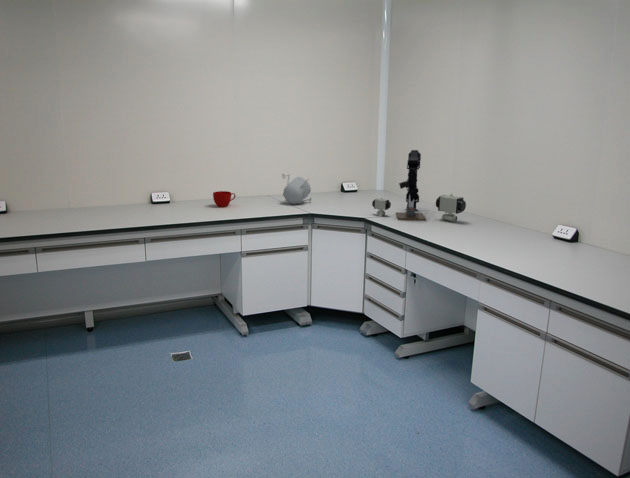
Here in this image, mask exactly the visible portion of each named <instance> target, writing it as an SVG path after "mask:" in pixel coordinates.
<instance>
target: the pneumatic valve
mask: <svg viewBox="0 0 630 478" xmlns="http://www.w3.org/2000/svg"><path fill="white" fill-rule="evenodd" d="M371 205H372V207H373V209H374V210H377V211H376V214H377V216H379V217H383V216H385V215H386V212H385V211H387V210H389V209H391V205H392V203H391V201H390V199H386V198H385V199H384V198H383V197H381V198H375V199H374V200H372V203H371Z"/></svg>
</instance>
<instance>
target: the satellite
mask: <svg viewBox="0 0 630 478" xmlns="http://www.w3.org/2000/svg"><path fill="white" fill-rule="evenodd" d="M286 177H287V182H286V183H287V184H286V186H285V187H284V189H283V193H282V195H283V198H284V199H285V201H286V202H287V203H289V204H291V205H298V204H301V203H303V202H307V201H309V203H308V204H309V205H310V204H311V201H312V197H310V198H308V197H309V194H310V193H311V191H312V190H311V188H312V187H311V185H310V182H309V181H310V175H308V177H307V179H305V178H303V177H301V176H296V177H295V178H294V179H292V181H290V174H289V173H288V175H285V173H282V174H281V178H282V179H283V180H285V179H286ZM306 198H308V199H306Z"/></svg>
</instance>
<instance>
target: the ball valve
mask: <svg viewBox="0 0 630 478" xmlns="http://www.w3.org/2000/svg"><path fill="white" fill-rule="evenodd" d="M466 205H467V203H466V200H465V199H464V197H461V196H455V195H453V194H452V193H451V194H449V195H447V194H443V195H440V196H438V197H437V198H436V200H435V206H436V208H437V211H439V212H443V213H444V214H442V215H441V219H442V220H443V221H445V222H450V221H451V223H456V222H457V221H458V214H461V213H463V212H464V211H465V210H466V207H467V206H466ZM455 214H457V215H455Z"/></svg>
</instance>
